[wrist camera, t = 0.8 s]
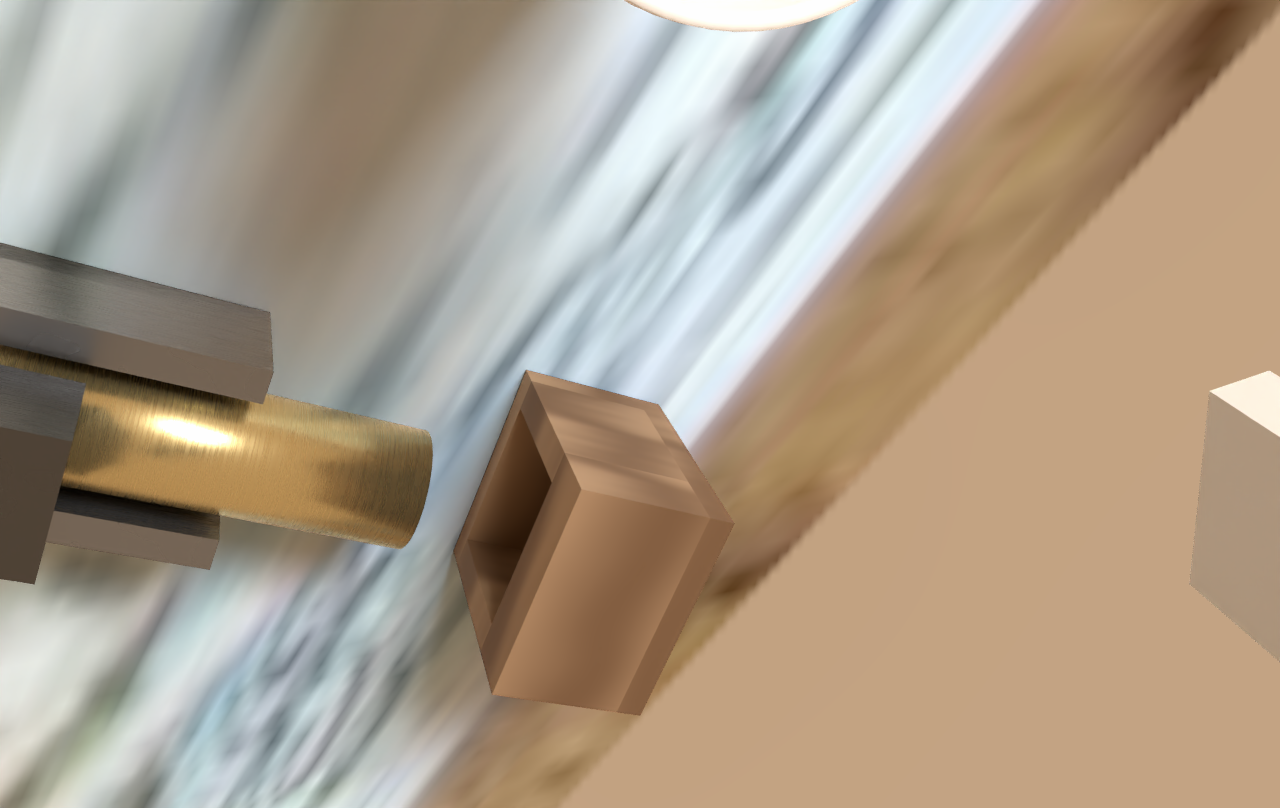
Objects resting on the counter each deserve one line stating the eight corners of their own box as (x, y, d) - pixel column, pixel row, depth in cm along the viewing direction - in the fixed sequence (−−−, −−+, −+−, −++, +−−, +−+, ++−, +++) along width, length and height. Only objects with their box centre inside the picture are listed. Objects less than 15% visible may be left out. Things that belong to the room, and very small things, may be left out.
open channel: (-120, 431, 34) (-159, 507, 31) (-77, 222, 32) (-115, 278, 29) (212, 496, 38) (209, 569, 34) (270, 312, 36) (273, 371, 32)
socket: (453, 550, 41) (491, 694, 35) (526, 369, 39) (581, 489, 33) (581, 575, 43) (640, 715, 37) (658, 404, 41) (734, 523, 35)
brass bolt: (-80, 420, 33) (-144, 556, 28) (-51, 288, 32) (-113, 404, 26) (384, 513, 39) (408, 642, 33) (425, 404, 37) (457, 519, 32)
